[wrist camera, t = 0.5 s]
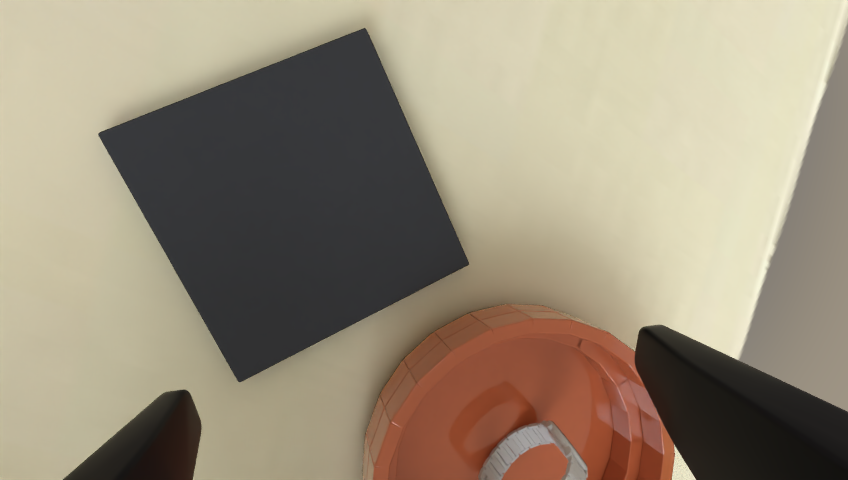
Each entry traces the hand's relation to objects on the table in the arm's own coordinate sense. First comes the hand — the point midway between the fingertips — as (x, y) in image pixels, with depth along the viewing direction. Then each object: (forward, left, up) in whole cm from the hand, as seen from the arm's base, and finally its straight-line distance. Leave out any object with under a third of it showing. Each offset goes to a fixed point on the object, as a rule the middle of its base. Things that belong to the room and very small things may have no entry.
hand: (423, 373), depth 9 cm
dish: (-12, -3, -14) cm, 19 cm away
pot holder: (+4, +1, -14) cm, 14 cm away
